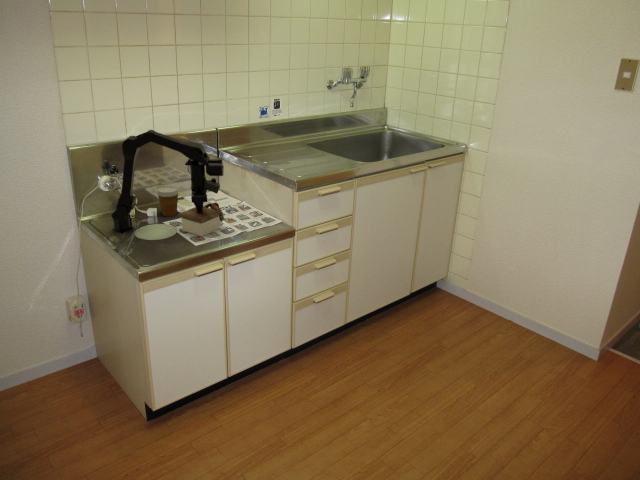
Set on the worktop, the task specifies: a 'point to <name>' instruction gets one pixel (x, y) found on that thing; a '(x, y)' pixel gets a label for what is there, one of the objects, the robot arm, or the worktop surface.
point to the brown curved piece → (215, 208)
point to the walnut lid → (200, 214)
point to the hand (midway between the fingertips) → (200, 211)
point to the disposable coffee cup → (168, 200)
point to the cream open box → (200, 226)
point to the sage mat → (155, 231)
